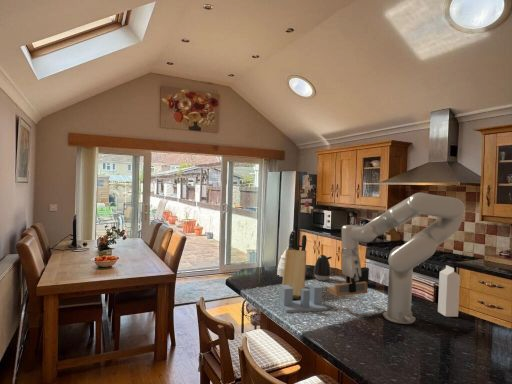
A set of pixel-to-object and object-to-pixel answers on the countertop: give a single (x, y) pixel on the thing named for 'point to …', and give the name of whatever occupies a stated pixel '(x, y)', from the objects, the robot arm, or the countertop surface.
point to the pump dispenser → (322, 268)
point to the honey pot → (281, 264)
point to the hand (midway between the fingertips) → (351, 291)
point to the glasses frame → (344, 289)
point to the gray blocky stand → (302, 299)
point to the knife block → (295, 266)
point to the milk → (448, 292)
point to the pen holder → (364, 275)
